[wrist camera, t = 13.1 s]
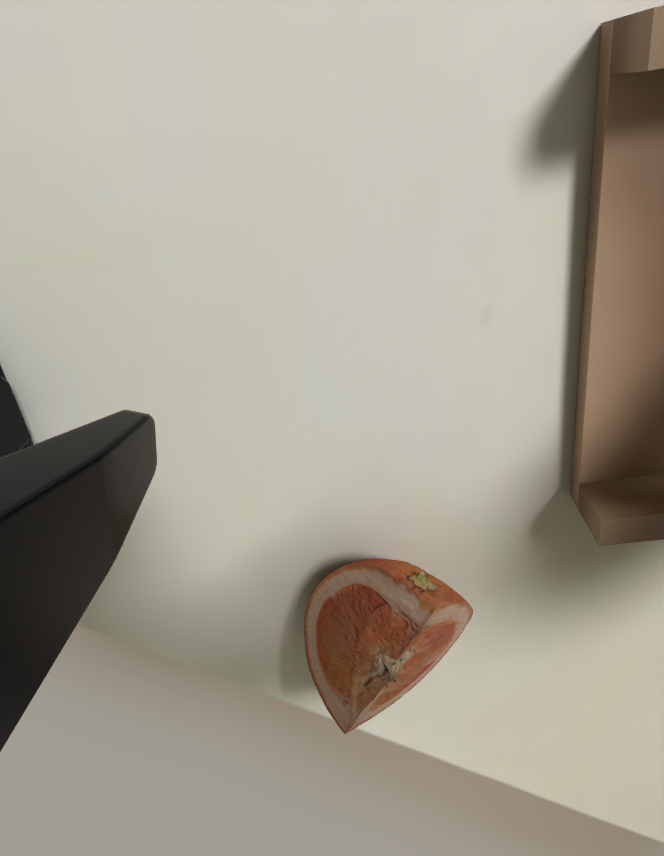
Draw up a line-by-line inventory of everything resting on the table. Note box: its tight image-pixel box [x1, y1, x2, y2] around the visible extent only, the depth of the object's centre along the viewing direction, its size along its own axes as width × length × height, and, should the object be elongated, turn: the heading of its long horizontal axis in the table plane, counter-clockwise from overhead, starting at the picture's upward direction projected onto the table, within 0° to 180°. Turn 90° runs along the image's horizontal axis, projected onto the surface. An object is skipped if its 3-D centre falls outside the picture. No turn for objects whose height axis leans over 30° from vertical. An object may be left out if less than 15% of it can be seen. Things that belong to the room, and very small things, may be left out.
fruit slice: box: [304, 559, 473, 734], centre depth 24 cm, size 8×7×5 cm
